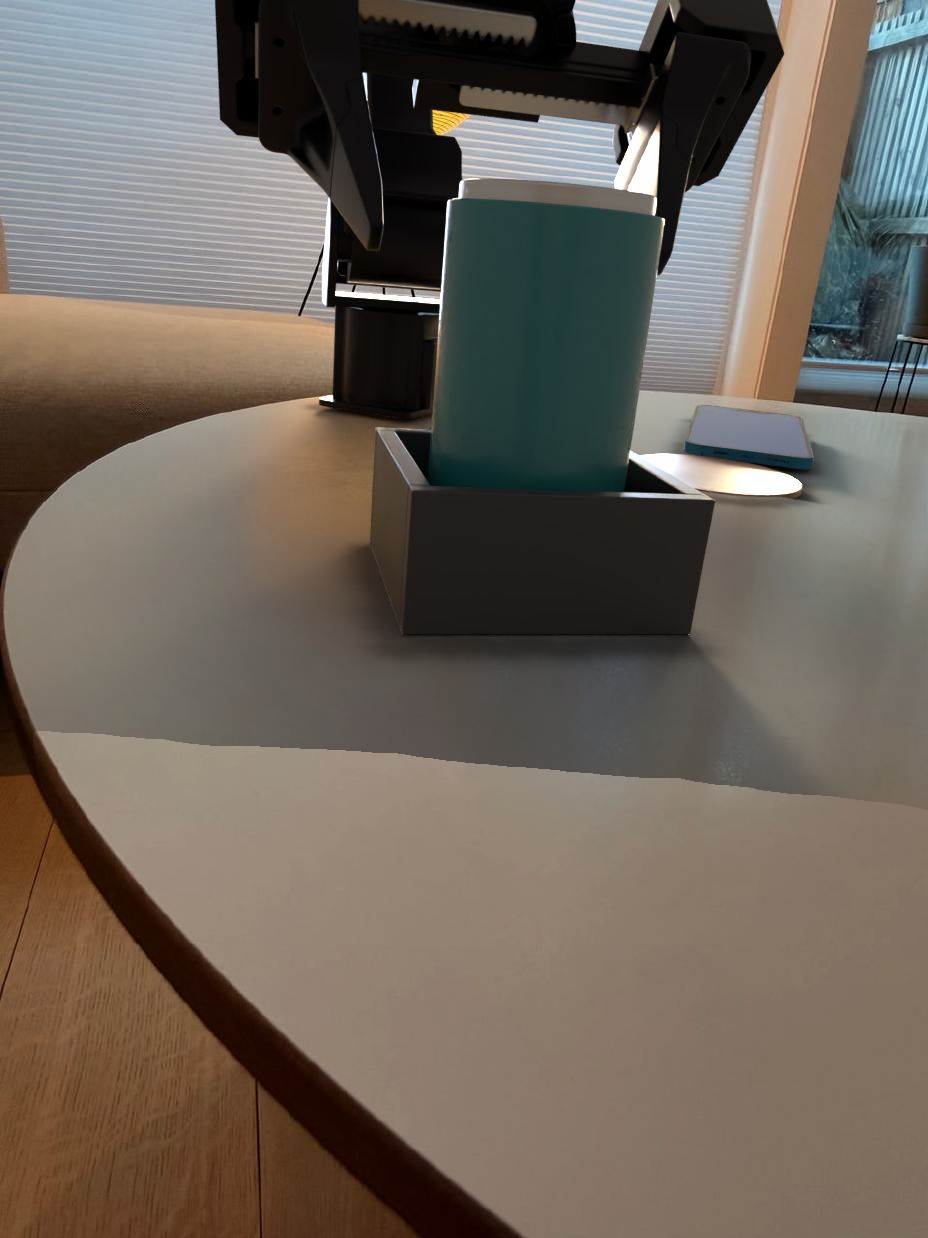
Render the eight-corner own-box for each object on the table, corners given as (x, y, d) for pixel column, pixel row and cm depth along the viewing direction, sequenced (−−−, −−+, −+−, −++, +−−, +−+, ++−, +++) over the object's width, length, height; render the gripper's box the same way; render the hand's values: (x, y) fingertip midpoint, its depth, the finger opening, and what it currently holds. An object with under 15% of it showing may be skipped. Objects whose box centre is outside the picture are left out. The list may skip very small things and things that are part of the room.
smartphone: (682, 442, 54) (696, 403, 67) (680, 458, 54) (693, 416, 68) (816, 459, 52) (802, 416, 66) (812, 476, 53) (799, 429, 66)
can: (387, 590, 28) (411, 171, 24) (465, 543, 33) (496, 191, 29) (576, 635, 26) (638, 185, 22) (628, 577, 31) (687, 204, 27)
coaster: (605, 481, 47) (606, 473, 46) (646, 453, 54) (648, 446, 54) (792, 513, 43) (794, 505, 43) (807, 479, 51) (809, 472, 51)
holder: (368, 551, 33) (375, 426, 31) (594, 556, 35) (611, 437, 33) (401, 648, 25) (411, 490, 24) (688, 647, 27) (716, 500, 25)
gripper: (210, -431, 26) (194, -70, 20) (817, -288, 30) (957, 48, 24) (224, -22, 36) (216, 299, 30) (676, 43, 40) (749, 338, 34)
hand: (522, 252), depth 29 cm, fingers open, 9 cm apart
